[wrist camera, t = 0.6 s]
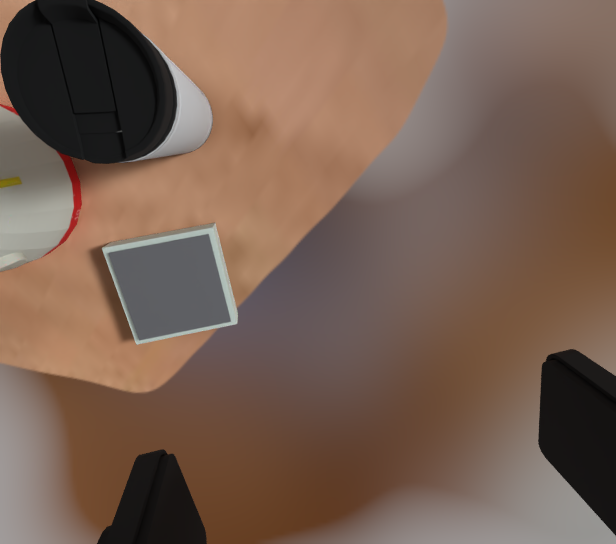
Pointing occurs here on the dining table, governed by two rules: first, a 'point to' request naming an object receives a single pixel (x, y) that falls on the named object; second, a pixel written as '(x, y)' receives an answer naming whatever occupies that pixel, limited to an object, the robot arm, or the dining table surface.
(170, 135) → the travel mug
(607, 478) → the robot arm
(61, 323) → the dining table surface
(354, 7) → the dining table surface
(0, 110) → the kitchen timer
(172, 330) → the stand
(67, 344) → the dining table surface
